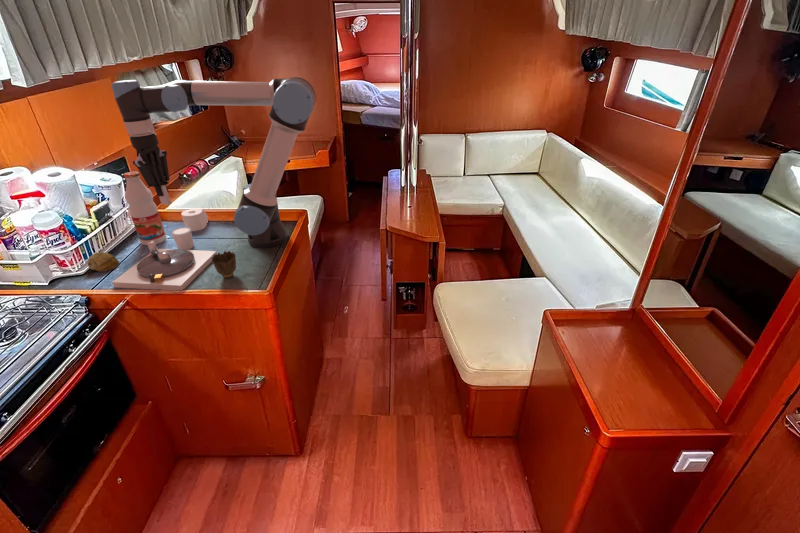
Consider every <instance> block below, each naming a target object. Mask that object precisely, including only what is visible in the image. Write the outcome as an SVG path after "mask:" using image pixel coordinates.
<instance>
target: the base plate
mask: <svg viewBox="0 0 800 533" xmlns="http://www.w3.org/2000/svg"><path fill="white" fill-rule="evenodd" d="M157 250H158V252H161V251H166V250H174V249H172V248H157ZM188 251H190V252H192V253H193V255H194V258H195V262H194V264H193V265H192V266H191V267H190V268H188V269H187V270H185V271H183V272H181V273H178V274H176V275H173V276H169V277H164V278H163V280H162V281H161V282H155V280H154V274H149V275H148V277H149V278H145V277H142V276H141V275H139V273H138V270H137V265H138V263H139V262H140V261H141V260H143V259H144V258H146V257H148V256H150V255H151V253H150V252H149V254H147V255H145V256H144V257H143V258H142V259H140V260H139V261H138V262H136V263H135V264H134V265H132V266H131V267H130V268H128V269H127V270H126V271H125V272H124V273H122V274H121V275H119V276H118V277H117V278H116V279H114V280H113V281H111V282H112V285H113V287H114V288H118V289H119V288H120V289H121V288H122V289H142V290H157V289H161V290H160V291H162V290H163V291H177V290H183V289H184V290H185V289H186V288H187V287H188V286H189V285H190V284H191V283H192V282H193V281H194V280H195V279H196V278H197V277H198V276H199V275H200V274H201V273H202V272H203V271H205V269H206V268H207V267H208V266H209V265H210V264H212V263H213V261H212V257H214V255H215V254H218V252H217V250H201V249H200V250H194V249H188ZM184 290H183V291H184Z"/></svg>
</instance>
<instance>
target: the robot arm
mask: <svg viewBox="0 0 800 533" xmlns="http://www.w3.org/2000/svg"><path fill="white" fill-rule="evenodd" d="M111 89H112V94H113V96H114V100H115V102H116V104H117V107H118V110H119V112H120V115H121V118H122V121H123V124H124V126H125V130H126V132H127V135H129V140H130V143H131V146H132V148H133V149H134V150H135V151H136V156H137V157H136V159H135V160H132V164H133V165H134V166H135V167H136V169H137V170H138V172H140V173H139V174H140V175H141V176H142V178H143V179H144V182H145V183H146V184H147V186H148V187H149V188H150V187H152V188H154V189H155V191H156V192H155V193H156V195H157V197H159V201H160V203H161V205H162V206H164V205H165V206H166V205H167V206H169V205H171V204H172V200H171V197H170V194H169V189H168V187H167V186H168V185H169V181H170V173H169V167H168V162H167V161H168V160H167V156H168V153H167V152H168V151H167V150H162V149H161V148H160V147H159V145H160V142H159V139H158V136H157V134H156V133H155V126H154V124H153V121H152V117H151V115H150V114H156V113H157V114H158V113H170V112H171V113H177V112H180V111H182V112H183V111H185V110H187V109H188V106H242V107H243V106H244V107H245V106H248V107H249V106H251V107H255V106H257V107H258V106H259V107H270V110H269V114H268V117H269V120H270V121H271V124H270V127H269V131H268V134H267V136H266V140H265V142H264V145H263V149H262V151H261V155H260V158H259V160H258V162H257V165H256V169H255V171H254V175H253V177H252V181H251V183H249V184H245V185H243V187H242V195H241V199H240V201H239V205H238V206H237V208H236V210H235V211H234V215H233V221H234V224H235V226H236V227H237V228H238V230H239V231H240V232H242V233H244V234H246V235H247V240H248V244H249V245H250V246H251V247H253V248H258V249H265V248H267V249H268V248H273V247H276V246H280V245H282V244H284V243H285V242H286V241H287V239H288V238H287V237H288V232H287V230H286V228H285V226H284V224H283V222H282V220H281V217H280V211H279V210H280V209H279V204H278V199H277V198H278V197H277V191H278V189H279V186H280V184H281V181H282V178H283V175H284V173H285V169H286V167H287V164H288V162H289V159H290V156H291V154H292V151H293V148H294V147H295V143H296V140H297V137H298V134H301V133H303V132H304V131H305V130H306V127H307V125H308V122H309V118H310V117H311V115H312V113H313V110H314V107H315V104H316V101H317V100H316V97H317V96H316V91H315V89H314V87H313V85H312V84H311V82H309V81H308V80H307V79H305V78H302V77H299V76H298V77H297V76H294V77H285V78H273V79H272V80H271V81H230V80H229V81H226V80H225V81H224V80H222V81H221V80H219V81H218V80H213V81H212V80H208V81H207V80H186V79H174V80H172V81H170V82H169V81H168V82H167V83H163V84H161V85H152V86H141V84H140V83H139V81H138V80H137V79H126V80H118V81H113V82H112V83H111ZM283 242H284V243H283Z"/></svg>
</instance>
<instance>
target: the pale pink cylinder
mask: <svg viewBox="0 0 800 533" xmlns="http://www.w3.org/2000/svg"><path fill="white" fill-rule="evenodd" d="M171 235H172V237H173V240H174V242H175V245H176V246H177V249H182V250H192V248H194V247H195V246H194V240H193V235H192V231H191V229H190V228H187V227H185V226H184V227H178V228H175V229H174V230H172V231H171Z"/></svg>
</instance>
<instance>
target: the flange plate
mask: <svg viewBox="0 0 800 533" xmlns="http://www.w3.org/2000/svg"><path fill="white" fill-rule="evenodd" d="M147 244H148V246H147V247H148V249H149V254H150V253H151V255H150V256H148V257H146V256H145V257H146V258H144V257H143V258H144V259H143V258H142V259H143V260H142V259H140V260H141V261H140V260H139V261H140V262H139V261H138V262H139V263H138V262H137V263H138V265H137V270H138V273H139V275H141V276H142V277H145V278H149V277H148V275H149V274H154V280H155V282H161V281H162V280H163V278H164V277H169V276H173V275H176V274H178V273H181V272H183V271H185V270H187V269H188V268H190V267H191V266H192V265H193V264H194V262H195V258H194V255H193V253H192V252H190V251H188V250H189V249H188V250H182V249H178V248H176V249H174V250H166V251H161V252H158V250H157V249H158V247H157V244H155V241H149V242H147Z"/></svg>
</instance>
